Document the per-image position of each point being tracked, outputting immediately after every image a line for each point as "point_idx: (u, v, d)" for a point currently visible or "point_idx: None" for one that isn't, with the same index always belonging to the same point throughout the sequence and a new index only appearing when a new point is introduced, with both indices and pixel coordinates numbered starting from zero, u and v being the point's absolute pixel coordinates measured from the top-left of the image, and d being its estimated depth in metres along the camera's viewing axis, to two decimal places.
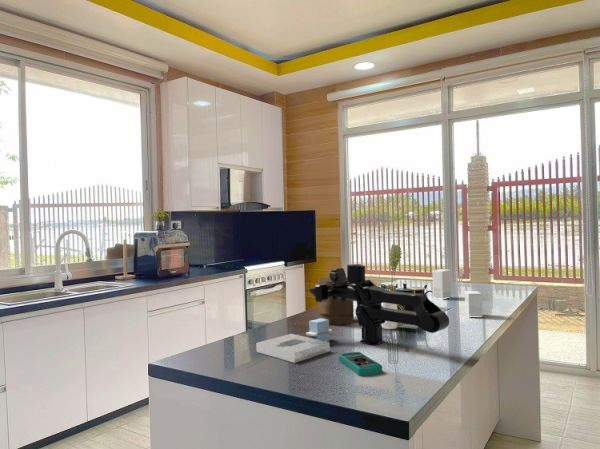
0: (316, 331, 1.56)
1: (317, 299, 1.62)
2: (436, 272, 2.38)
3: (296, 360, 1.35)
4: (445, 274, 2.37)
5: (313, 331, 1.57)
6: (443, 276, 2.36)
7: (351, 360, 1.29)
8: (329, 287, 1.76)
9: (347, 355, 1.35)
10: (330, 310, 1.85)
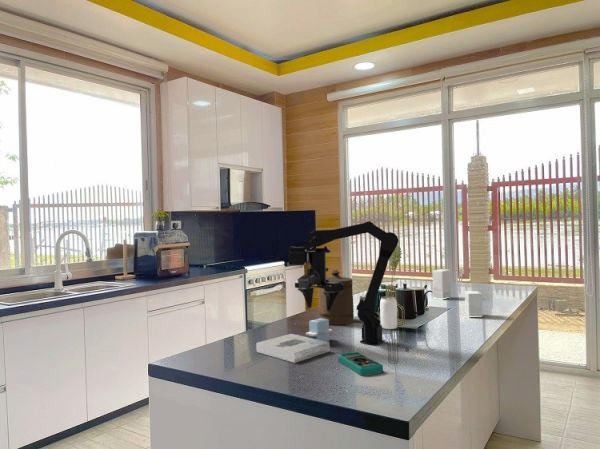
0: (316, 331, 1.56)
1: (342, 287, 1.54)
2: (436, 272, 2.38)
3: (296, 360, 1.35)
4: (445, 274, 2.37)
5: (313, 331, 1.57)
6: (443, 276, 2.36)
7: (351, 360, 1.29)
8: (309, 302, 1.62)
9: (346, 355, 1.35)
10: (330, 310, 1.85)
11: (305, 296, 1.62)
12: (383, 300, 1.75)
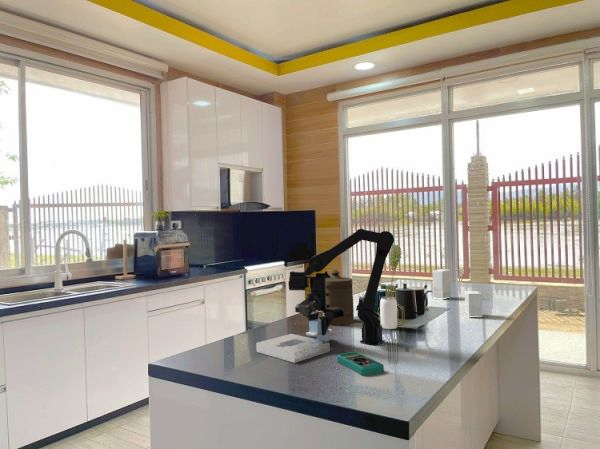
0: (316, 331, 1.56)
1: (342, 313, 1.54)
2: (436, 272, 2.38)
3: (296, 360, 1.35)
4: (445, 274, 2.37)
5: (313, 331, 1.57)
6: (443, 276, 2.36)
7: (351, 360, 1.29)
8: None
9: (345, 355, 1.35)
10: None
11: None
12: (383, 300, 1.75)
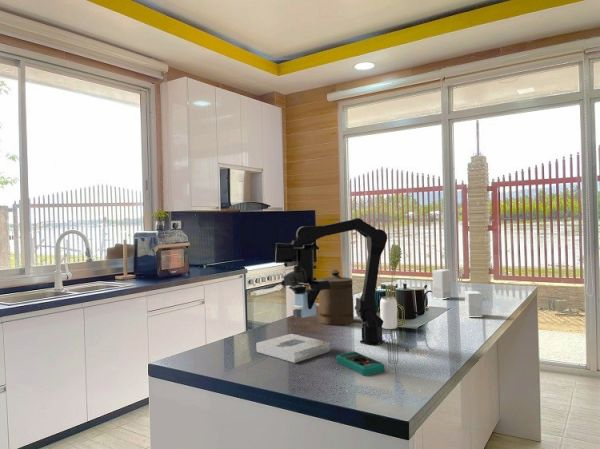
0: (302, 304, 1.50)
1: (329, 285, 1.48)
2: (436, 272, 2.38)
3: (296, 360, 1.35)
4: (445, 274, 2.37)
5: (299, 304, 1.51)
6: (443, 276, 2.36)
7: (351, 360, 1.29)
8: None
9: (344, 355, 1.35)
10: (330, 310, 1.85)
11: None
12: (383, 300, 1.75)
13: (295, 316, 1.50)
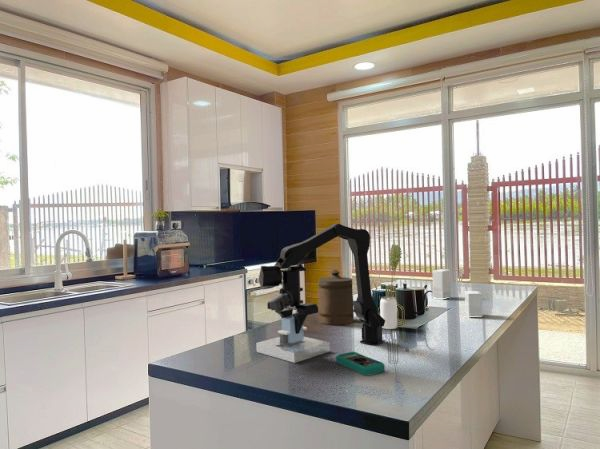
0: (289, 329, 1.44)
1: (317, 309, 1.42)
2: (436, 272, 2.38)
3: (296, 360, 1.35)
4: (445, 274, 2.37)
5: (286, 329, 1.45)
6: (443, 276, 2.36)
7: (351, 360, 1.29)
8: None
9: (344, 356, 1.35)
10: (330, 310, 1.85)
11: None
12: (383, 300, 1.75)
13: (282, 342, 1.43)
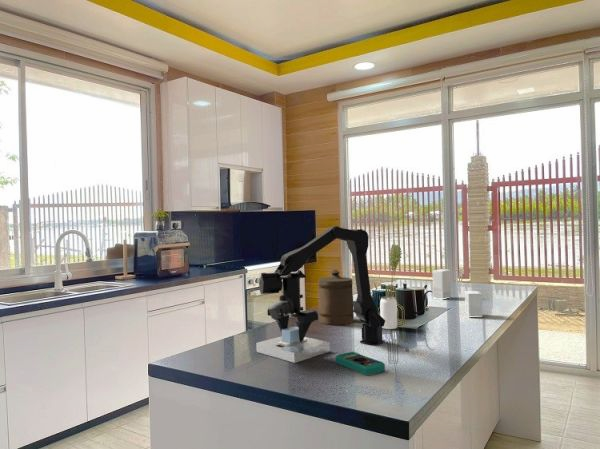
0: (289, 341, 1.44)
1: (317, 316, 1.42)
2: (436, 272, 2.38)
3: (296, 360, 1.35)
4: (445, 274, 2.37)
5: (286, 340, 1.45)
6: (443, 276, 2.36)
7: (352, 360, 1.29)
8: None
9: (343, 356, 1.34)
10: (330, 310, 1.85)
11: (279, 325, 1.49)
12: (383, 300, 1.75)
13: None
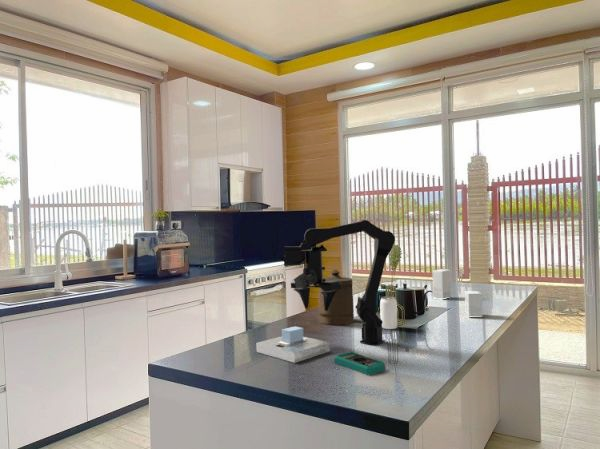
0: (289, 341, 1.44)
1: (339, 286, 1.51)
2: (436, 272, 2.38)
3: (296, 360, 1.35)
4: (445, 274, 2.37)
5: (286, 340, 1.45)
6: (443, 276, 2.36)
7: (352, 360, 1.29)
8: (306, 302, 1.59)
9: (342, 356, 1.34)
10: (330, 310, 1.85)
11: (302, 296, 1.58)
12: (383, 300, 1.75)
13: None
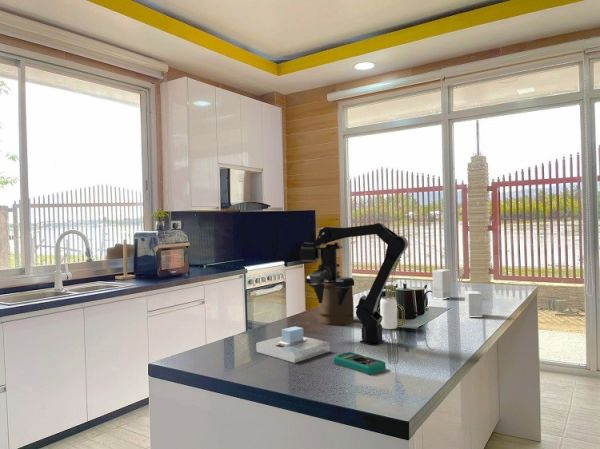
0: (289, 341, 1.44)
1: (353, 282, 1.57)
2: (436, 272, 2.38)
3: (296, 360, 1.35)
4: (445, 274, 2.37)
5: (286, 340, 1.45)
6: (443, 276, 2.36)
7: (352, 360, 1.29)
8: (320, 297, 1.65)
9: (341, 356, 1.34)
10: (330, 310, 1.85)
11: (316, 292, 1.65)
12: (383, 300, 1.75)
13: None
